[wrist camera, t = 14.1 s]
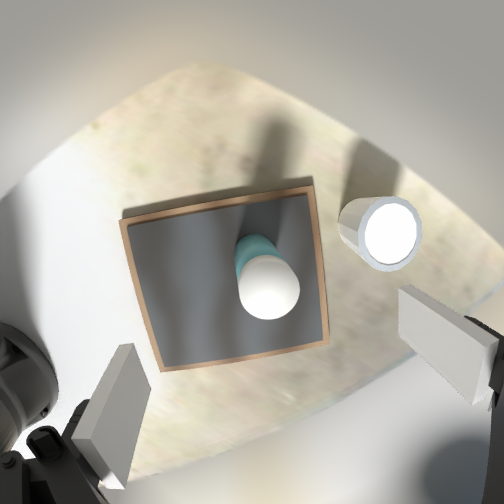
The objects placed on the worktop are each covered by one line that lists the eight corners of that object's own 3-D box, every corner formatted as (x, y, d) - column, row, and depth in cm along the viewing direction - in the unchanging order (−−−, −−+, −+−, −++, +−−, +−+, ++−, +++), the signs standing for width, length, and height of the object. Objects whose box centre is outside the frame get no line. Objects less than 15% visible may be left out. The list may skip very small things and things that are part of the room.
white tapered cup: (324, 203, 33) (349, 209, 26) (380, 184, 33) (414, 186, 26) (341, 263, 34) (367, 283, 27) (394, 242, 34) (428, 256, 27)
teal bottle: (241, 278, 32) (249, 326, 22) (228, 241, 31) (231, 273, 21) (279, 266, 32) (306, 308, 22) (268, 228, 31) (290, 253, 21)
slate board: (161, 367, 35) (159, 373, 34) (121, 219, 31) (117, 220, 30) (326, 339, 36) (330, 344, 35) (310, 185, 32) (313, 185, 31)
